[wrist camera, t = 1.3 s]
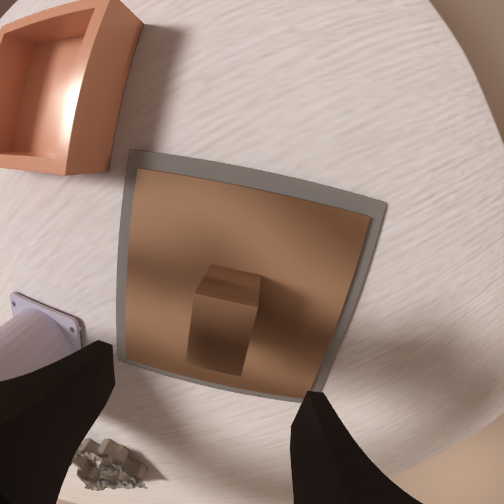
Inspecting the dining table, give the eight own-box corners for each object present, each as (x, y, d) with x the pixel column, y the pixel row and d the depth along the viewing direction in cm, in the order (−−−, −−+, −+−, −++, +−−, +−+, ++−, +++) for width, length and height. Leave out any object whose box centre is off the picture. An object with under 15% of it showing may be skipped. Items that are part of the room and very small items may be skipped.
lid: (305, 393, 20) (310, 441, 15) (129, 354, 20) (102, 393, 15) (366, 215, 16) (399, 233, 11) (142, 168, 16) (100, 170, 11)
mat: (313, 400, 20) (313, 404, 20) (119, 357, 20) (117, 360, 20) (384, 201, 16) (386, 202, 16) (132, 149, 16) (129, 149, 16)
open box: (108, 171, 16) (65, 175, 12) (11, 160, 16) (-31, 165, 12) (143, 23, 14) (112, -7, 9) (38, 40, 14) (1, 26, 9)
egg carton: (95, 468, 27) (84, 489, 23) (60, 431, 25) (45, 453, 21) (157, 474, 26) (148, 501, 22) (120, 436, 24) (106, 464, 20)
